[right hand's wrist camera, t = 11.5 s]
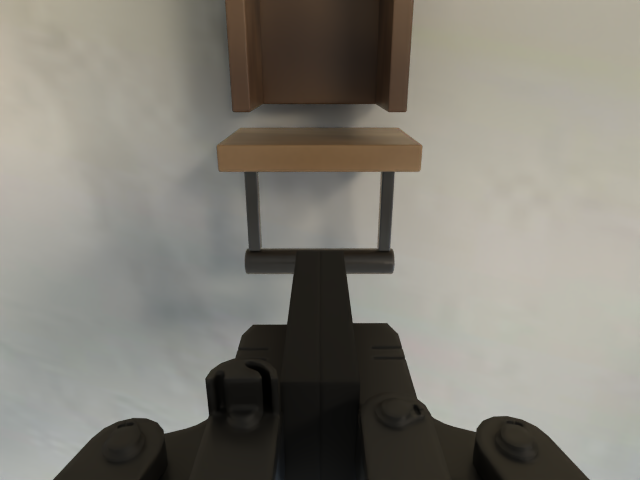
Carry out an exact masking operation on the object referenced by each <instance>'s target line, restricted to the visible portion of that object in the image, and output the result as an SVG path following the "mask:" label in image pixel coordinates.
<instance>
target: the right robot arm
mask: <svg viewBox="0 0 640 480" xmlns="http://www.w3.org/2000/svg"><path fill="white" fill-rule="evenodd" d="M205 380H206V389H207V399H208V408H209V417H208V419H207V420H205V421H203V422H202V423H200V424H198V425H196V426H193V427H189V428H186V429H183V430H179V431H175V432H170V433H166V434H164V431H163V429H162V428H161V427H160V425H159V424H158V423H157V422H154V421H152V420H149V419H145V418H132V419H127V420H123V421H119V422H116V423H114V424H112V425H110V426H108V427H106V428H104V429H103V430H102V431H100V432H99V433H98V434H97V435H95V436H94V437H93V438H92V439H91V440H90V441H89V442H88V443H87V444H86V445H85V446H84V447H83V448H82V449H81V450H80V452H79V453H78V454H77V455H76V456H75V457H74V458H73V459H72V460H71V461H70V462H69V463H68V464H67V465H66V466H65V468H64V469H63V470H62V471H61V472H60V473H59V474H58V475H57V476H56V477H55V478H54V479H53V480H589V479H588V478H587V477H586V476H585V474H584V473H583V472H582V471H581V470H580V469H579V468H578V467H577V466H576V465H575V464H574V463H573V462H572V461H571V460H570V459H569V458H568V456H567V455H566V454H565V453H564V452H563V451H562V450H561V449H560V448H559V447H558V446H557V445H556V444H555V443H554V442H553V441H552V440H551V438H550V437H549V436H547V435H546V434H545V433H544V432H543V431H541V430H540V429H539V428H538V427H536V426H534V425H532V424H530V423H528V422H526V421H524V420H521V419H517V418H513V417H508V416H499V417H491V418H489V419H486V420H484V421H482V423H481V424H480V425H479V426H478V428H477V431H476V432H473V431H469V430H465V429H461V428H457V427H453V426H450V425H447V424H444V423H442V422H440V421H438V420H436V419H434V418H433V417H432V416H431V414H430V412H429V411H428V409H427V407H426V406H425V405H424V404H423V403H422V402H420V401H419V400H418V399H417V396H416V393H415V390H414V386H413V383H412V380H411V376H410V373H409V369H408V366H407V363H406V360H405V356H404V352H403V349H402V346H401V342H400V339H399V336H398V334H397V333H396V332H395V331H394V330H393V329H392V328H391V327H390V326H389V325H388V324H387V323H353V322H352V314H351V307H350V299H349V291H348V283H347V276H346V268H345V260H344V252H343V251H297V252H296V260H295V268H294V276H293V283H292V291H291V299H290V307H289V314H288V322H287V325H252V326H251V327H250V328H249V329H248V330H247V331H246V332H245V333H244V334H243V335H242V337H241V341H240V344H239V348H238V351H237V354H236V358H235V359H232V360H229V361H226V362H223V363H221V364H219V365H218V366H216V367H215V368H214V369H212V370H211V371H210V373H209V374H208V376H207V377H206V379H205Z"/></svg>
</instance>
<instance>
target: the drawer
mask: <svg viewBox="0 0 640 480" xmlns="http://www.w3.org/2000/svg"><path fill="white" fill-rule="evenodd" d="M413 2H414V0H225V5H226V20H227V36H228V51H229V66H230V81H231V96H232V110H233V112H250V111H252V110H254V109H255V108H257V107H259V106H260V105H262V104H377V105H378V106H380V107H381V108H383V109H385V110H386V111H388V112H406V111H407V95H408V80H409V64H410V49H411V33H412V17H413ZM421 157H422V145H421V144H420V143H418V142H417V141H416V140H414V139H413V138H412V137H410V136H409V135H407V134H406V133H405V132H403V131H402V130H401V129H399V128H240V129H238V130H237V131H236V132H234V133H233V134H232V135H230V136H229V137H228V138H226V139H225V140H224V141H222V142H221V143H220V144H218V145H217V158H218V170H219V171H220V172H244V173H245V190H246V206H247V223H248V240H249V249H247V250H246V253H245V270H246V273H247V274H294V268H295V260H296V252H297V251H343V252H344V260H345V268H346V274H392V273H393V271H394V252H393V249H391V248H390V242H391V225H392V208H393V191H394V173H395V172H419V171H420V170H421ZM258 172H381V182H380V203H379V225H378V246H377V247H378V248H304V249H261V247H262V242H261V221H260V201H259V181H258Z"/></svg>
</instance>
